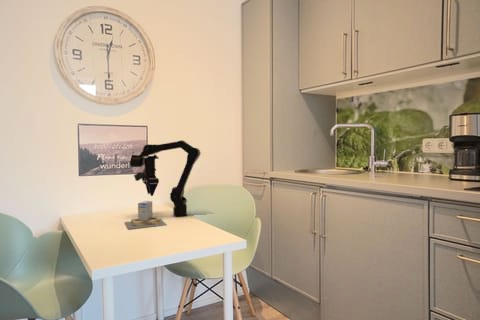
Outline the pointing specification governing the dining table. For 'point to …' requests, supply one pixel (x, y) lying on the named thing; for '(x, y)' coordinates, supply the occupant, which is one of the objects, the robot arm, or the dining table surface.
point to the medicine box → (144, 210)
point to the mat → (130, 226)
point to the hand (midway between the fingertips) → (150, 194)
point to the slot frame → (149, 222)
